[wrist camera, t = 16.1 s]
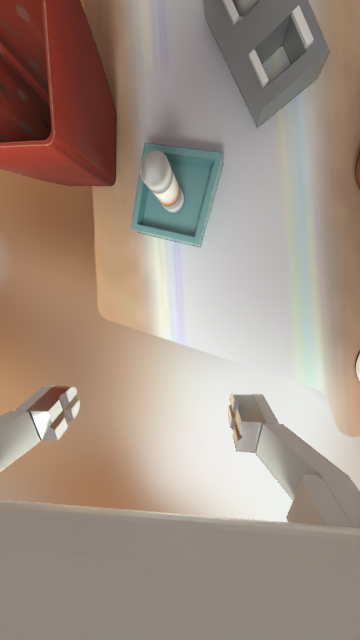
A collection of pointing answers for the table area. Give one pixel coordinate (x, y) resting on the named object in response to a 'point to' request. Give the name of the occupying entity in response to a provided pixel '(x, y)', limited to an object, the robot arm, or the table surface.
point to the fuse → (244, 7)
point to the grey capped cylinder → (162, 181)
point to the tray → (198, 188)
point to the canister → (358, 171)
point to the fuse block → (268, 49)
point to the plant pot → (54, 96)
